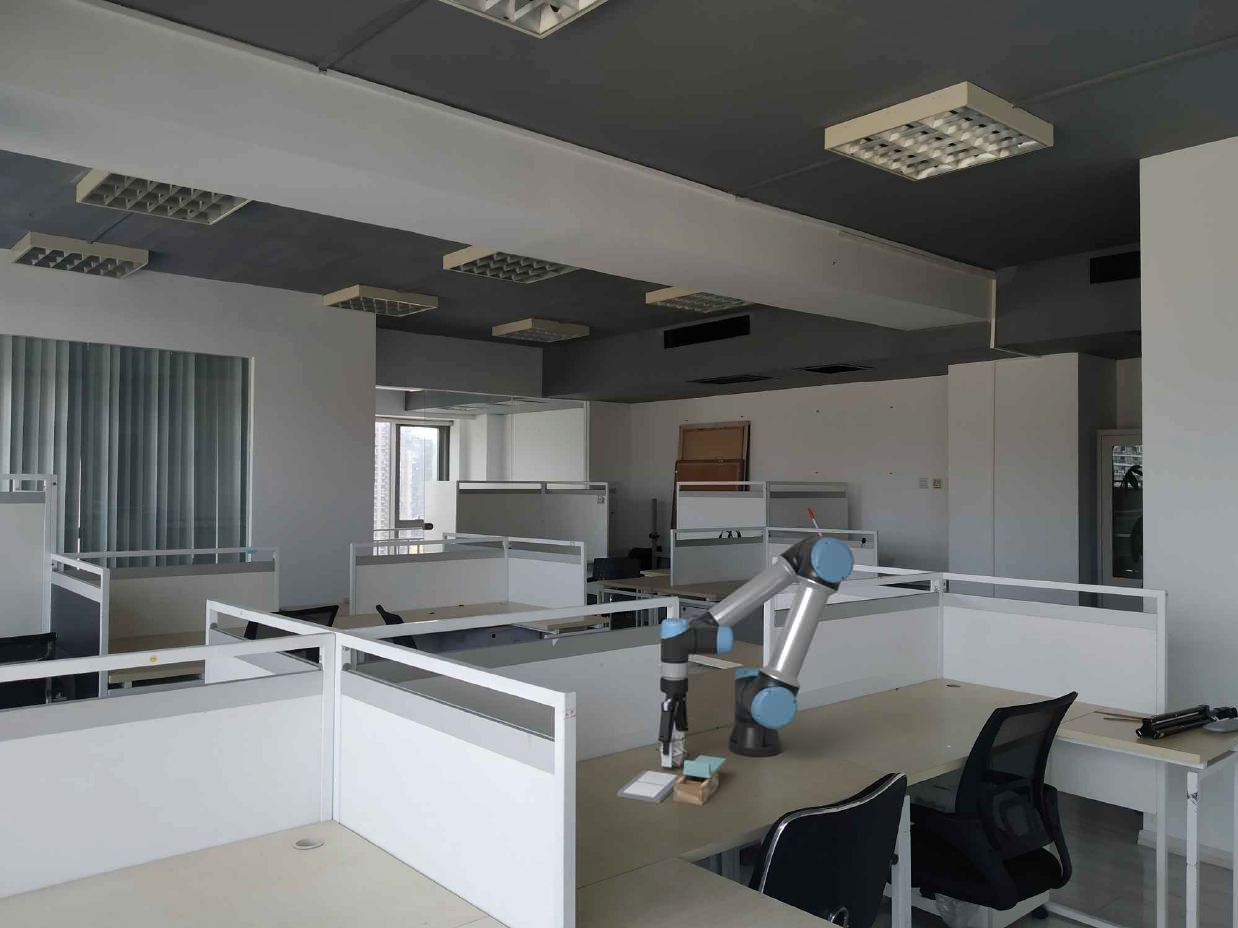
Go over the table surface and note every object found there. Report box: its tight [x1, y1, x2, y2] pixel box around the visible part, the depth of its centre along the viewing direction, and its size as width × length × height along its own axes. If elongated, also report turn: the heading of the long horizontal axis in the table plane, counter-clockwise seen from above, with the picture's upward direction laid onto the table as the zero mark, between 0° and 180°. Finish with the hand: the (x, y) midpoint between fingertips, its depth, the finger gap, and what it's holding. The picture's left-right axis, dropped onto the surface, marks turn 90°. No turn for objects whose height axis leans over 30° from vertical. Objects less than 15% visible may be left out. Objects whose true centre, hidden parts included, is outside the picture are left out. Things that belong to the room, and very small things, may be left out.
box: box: [673, 770, 719, 806], centre depth 220 cm, size 14×7×4 cm, turn 157°
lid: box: [682, 754, 727, 778], centre depth 227 cm, size 14×7×3 cm, turn 157°
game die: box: [655, 737, 692, 770], centre depth 241 cm, size 9×8×10 cm
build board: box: [616, 769, 683, 804], centre depth 224 cm, size 18×11×1 cm, turn 157°
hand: (673, 760), depth 241 cm, fingers closed on game die, 9 cm apart
